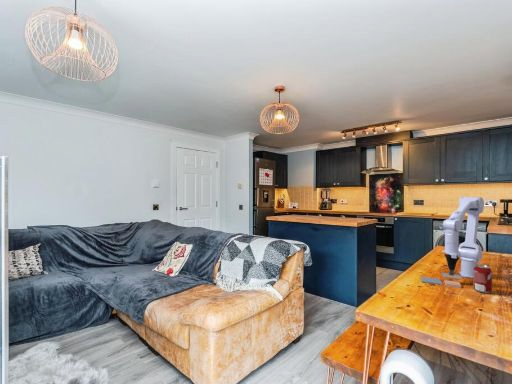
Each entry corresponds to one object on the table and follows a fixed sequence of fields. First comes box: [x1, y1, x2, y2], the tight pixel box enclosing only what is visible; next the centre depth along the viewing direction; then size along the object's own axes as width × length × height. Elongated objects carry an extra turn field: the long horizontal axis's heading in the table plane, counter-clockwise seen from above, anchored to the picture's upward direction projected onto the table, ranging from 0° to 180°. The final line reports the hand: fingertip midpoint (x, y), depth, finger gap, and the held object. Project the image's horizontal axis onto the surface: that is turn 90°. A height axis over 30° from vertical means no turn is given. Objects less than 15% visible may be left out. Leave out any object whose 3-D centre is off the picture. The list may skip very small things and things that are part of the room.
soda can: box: [472, 264, 493, 294], centre depth 129 cm, size 7×7×12 cm
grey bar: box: [441, 269, 462, 280], centre depth 140 cm, size 3×8×7 cm, turn 63°
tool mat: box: [419, 275, 443, 286], centre depth 143 cm, size 9×9×1 cm
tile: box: [444, 279, 462, 289], centre depth 137 cm, size 2×6×6 cm
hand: (451, 269), depth 140 cm, fingers closed on grey bar, 2 cm apart
